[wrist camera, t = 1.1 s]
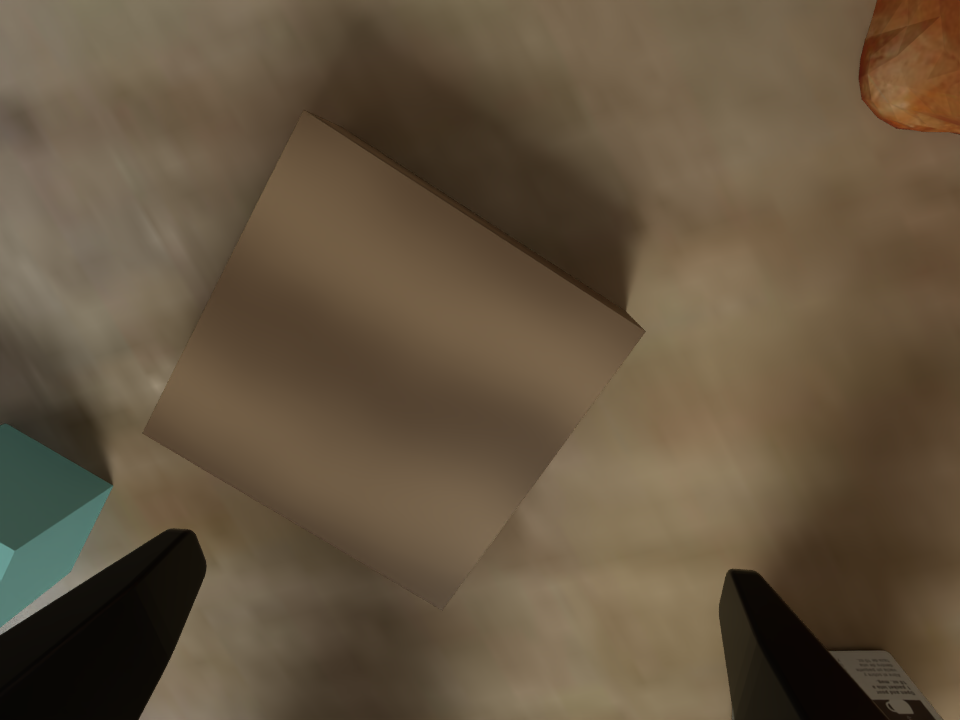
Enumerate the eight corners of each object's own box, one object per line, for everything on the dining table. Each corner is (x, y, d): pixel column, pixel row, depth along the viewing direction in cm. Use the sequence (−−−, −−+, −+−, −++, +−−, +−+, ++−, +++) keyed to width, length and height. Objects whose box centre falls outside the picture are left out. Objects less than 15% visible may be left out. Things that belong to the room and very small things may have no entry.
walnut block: (455, 547, 25) (442, 610, 21) (204, 397, 24) (142, 433, 20) (624, 309, 22) (645, 331, 18) (344, 128, 21) (303, 109, 17)
